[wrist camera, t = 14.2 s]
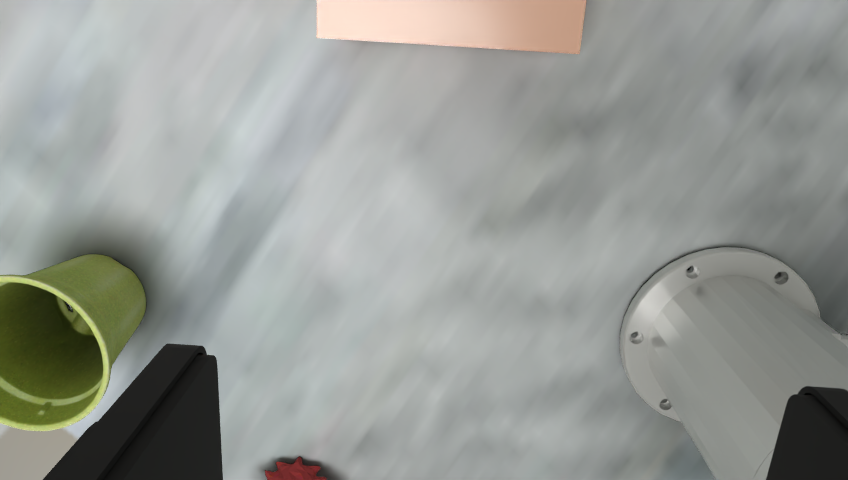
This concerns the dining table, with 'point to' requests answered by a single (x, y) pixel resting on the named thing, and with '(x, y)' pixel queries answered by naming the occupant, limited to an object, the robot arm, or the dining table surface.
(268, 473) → the decorative bird sculpture
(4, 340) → the plant pot
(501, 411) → the dining table surface
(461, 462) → the dining table surface
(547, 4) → the pink planter box
